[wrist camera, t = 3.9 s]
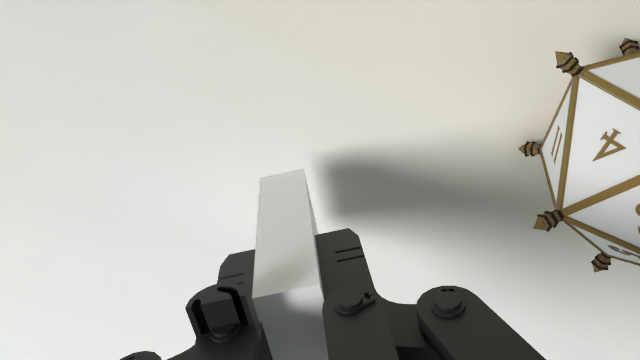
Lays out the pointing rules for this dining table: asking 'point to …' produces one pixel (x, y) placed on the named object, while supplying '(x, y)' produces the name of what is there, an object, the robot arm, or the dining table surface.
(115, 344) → the dining table surface
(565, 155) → the game die
